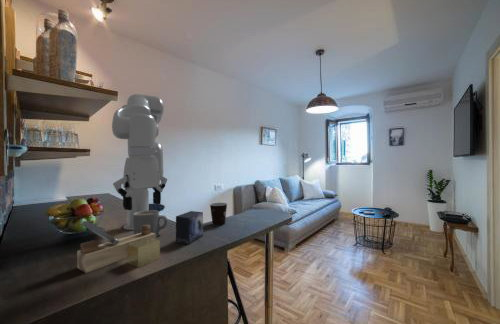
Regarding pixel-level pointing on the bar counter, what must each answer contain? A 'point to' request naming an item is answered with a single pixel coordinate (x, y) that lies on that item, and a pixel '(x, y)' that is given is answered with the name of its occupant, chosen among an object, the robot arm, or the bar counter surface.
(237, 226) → the bar counter surface
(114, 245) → the wooden block plane
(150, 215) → the coffee mug
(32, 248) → the bar counter surface
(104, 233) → the lever
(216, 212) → the coffee mug
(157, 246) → the olive cube-like block
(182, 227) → the small box
